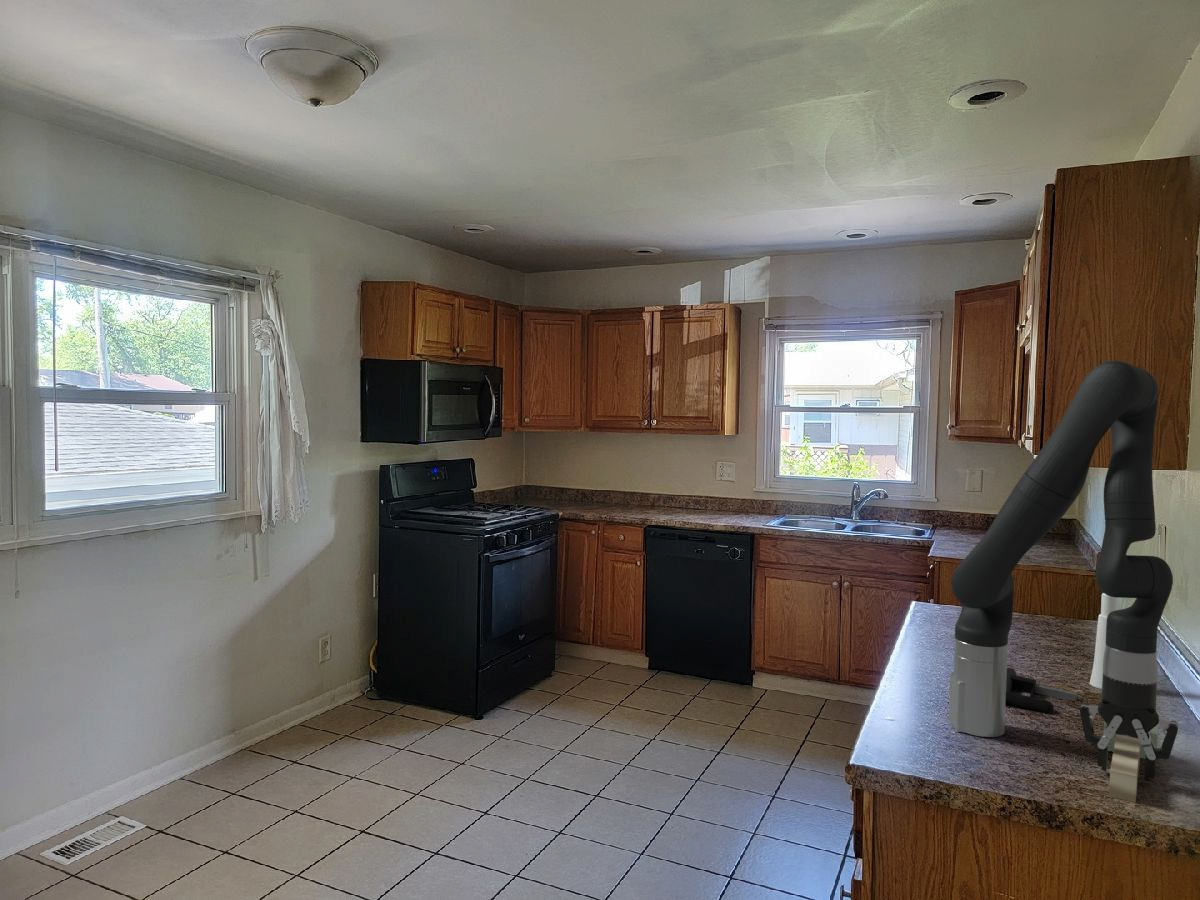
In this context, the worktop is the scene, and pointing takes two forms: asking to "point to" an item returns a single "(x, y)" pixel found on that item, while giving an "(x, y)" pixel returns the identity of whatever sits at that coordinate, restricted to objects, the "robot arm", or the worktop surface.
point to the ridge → (1152, 733)
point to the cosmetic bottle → (1101, 640)
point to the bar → (1125, 768)
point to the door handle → (1032, 693)
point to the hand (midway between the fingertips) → (1125, 774)
